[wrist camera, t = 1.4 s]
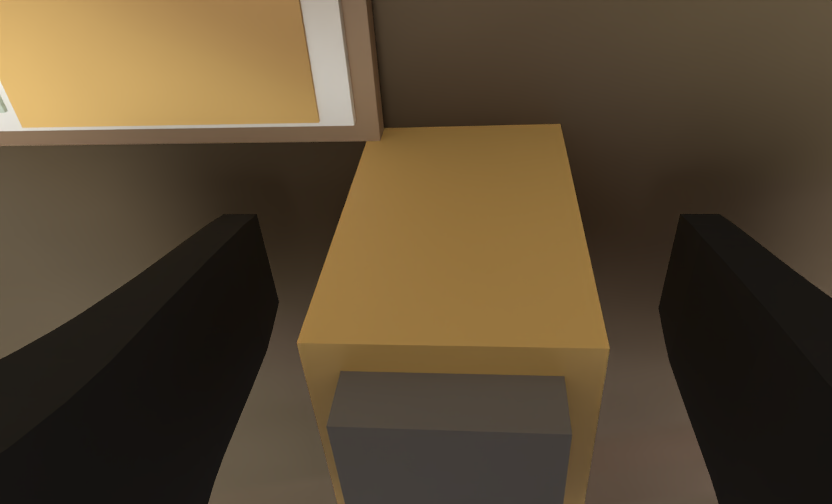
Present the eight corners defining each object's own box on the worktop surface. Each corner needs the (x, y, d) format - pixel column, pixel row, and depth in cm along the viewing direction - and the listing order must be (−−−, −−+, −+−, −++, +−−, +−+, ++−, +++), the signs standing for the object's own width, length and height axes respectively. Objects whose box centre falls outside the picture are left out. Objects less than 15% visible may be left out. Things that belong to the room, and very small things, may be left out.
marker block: (549, 274, 13) (588, 581, 8) (389, 273, 14) (328, 566, 9) (560, 124, 11) (622, 406, 6) (370, 128, 12) (278, 398, 6)
